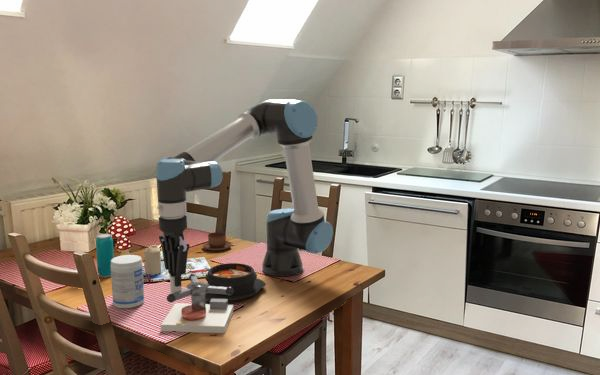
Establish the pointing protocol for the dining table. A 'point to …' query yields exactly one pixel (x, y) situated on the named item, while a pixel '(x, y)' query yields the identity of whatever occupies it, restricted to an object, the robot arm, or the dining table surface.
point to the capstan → (197, 297)
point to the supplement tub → (127, 281)
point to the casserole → (233, 281)
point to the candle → (153, 260)
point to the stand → (211, 323)
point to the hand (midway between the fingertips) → (176, 295)
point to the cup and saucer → (216, 242)
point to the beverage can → (104, 254)
